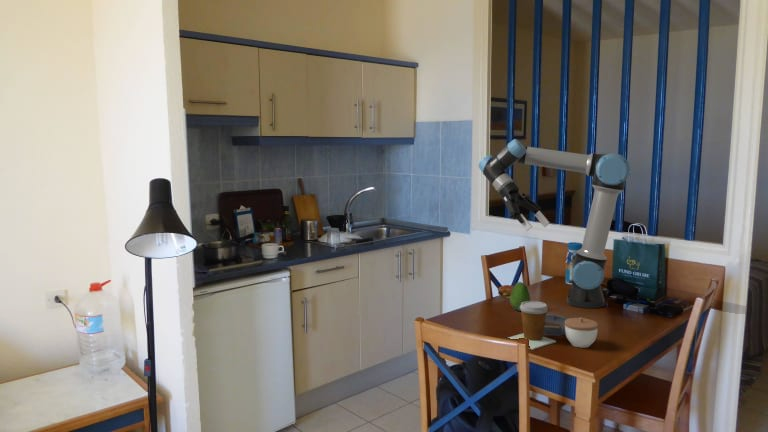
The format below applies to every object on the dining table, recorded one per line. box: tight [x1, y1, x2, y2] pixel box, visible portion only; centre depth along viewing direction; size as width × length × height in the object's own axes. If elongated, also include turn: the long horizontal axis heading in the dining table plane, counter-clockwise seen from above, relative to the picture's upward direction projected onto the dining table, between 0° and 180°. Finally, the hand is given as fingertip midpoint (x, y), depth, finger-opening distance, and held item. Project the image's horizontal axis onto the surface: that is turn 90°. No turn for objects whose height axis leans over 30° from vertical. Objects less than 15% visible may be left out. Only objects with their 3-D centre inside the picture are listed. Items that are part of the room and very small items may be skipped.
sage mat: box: [508, 332, 557, 350], centre depth 192 cm, size 12×12×1 cm
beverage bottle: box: [564, 241, 583, 286], centre depth 271 cm, size 8×8×20 cm
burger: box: [497, 284, 515, 300], centre depth 250 cm, size 10×9×5 cm
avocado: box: [509, 281, 531, 312], centre depth 228 cm, size 8×8×12 cm
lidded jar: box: [565, 317, 599, 349], centre depth 188 cm, size 11×11×9 cm
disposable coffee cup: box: [520, 300, 549, 340], centre depth 193 cm, size 10×10×12 cm
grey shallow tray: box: [543, 313, 571, 337], centre depth 205 cm, size 16×16×3 cm
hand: (538, 227), depth 217 cm, fingers open, 13 cm apart
